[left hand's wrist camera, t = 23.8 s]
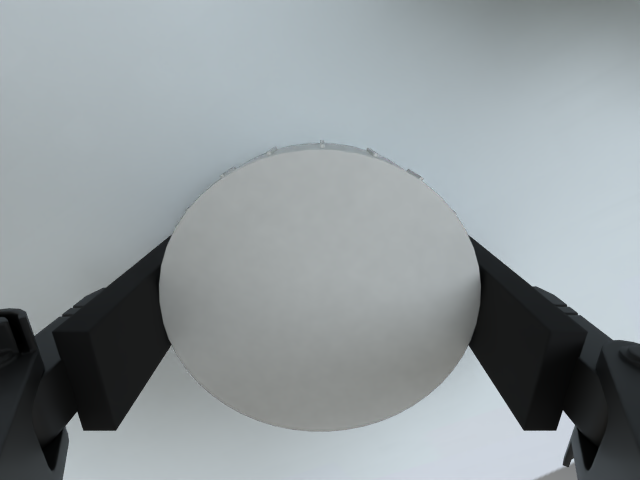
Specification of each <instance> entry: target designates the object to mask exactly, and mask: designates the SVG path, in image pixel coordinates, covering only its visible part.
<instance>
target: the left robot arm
mask: <svg viewBox="0 0 640 480" xmlns="http://www.w3.org/2000/svg"><path fill="white" fill-rule="evenodd" d="M171 236H172V235H171ZM171 236H169V237H168V238H167V239H166V240H165V241H163V242H162V243H161V244H160V245H158V246H157V247H156V248H155V249H153V250H152V251H151V252H150V253H148V254H147V255H146V256H145V257H144V258H142V259H141V260H140V261H139V262H137V263H136V264H135V265H134V266H132V267H131V268H130V269H129V270H127V271H126V272H125V273H124V274H123V275H121V276H120V277H119V278H118V279H116V280H115V281H114V282H113V283H111V284H110V285H109V286H108V287H106V288H102V289H100V290H98V291H96V292H94V293H92V294H90V295H87V296H86V297H84V298H83V299H82V300H80V301H79V302H78V303H77V304H75V305H74V306H73V308H70V309H69V310H68V311H66V312H65V313H64V314H62V317H58V318H57V319H56V320H55V321H53V322H52V323H51V324H49V325H48V326H47V327H46V328H44V329H43V330H42V331H40V332H39V333H38V334H37V335H35V336H34V334H33V331H32V328H31V325H30V322H29V320H28V317H27V314H26V312H25V311H23V310H21V309H11V308H8V309H0V480H63V474H64V468H65V462H66V456H67V450H68V444H69V438H68V433H67V430H66V427H65V426H66V425H67V423H68V422H69V421H70V420H71V418H72V417H73V416H74V415H75V414H76V412H78V415H79V418H80V421H81V424H82V428H83V431H116V430H117V428H118V427H119V425H120V424H121V422H122V420H123V419H124V417H125V416H126V414H127V413H128V411H129V410H130V408H131V407H132V405H133V403H134V402H135V400H136V399H137V397H138V396H139V394H140V393H141V391H142V389H143V388H144V386H145V385H146V383H147V382H148V380H149V379H150V377H151V376H152V374H153V372H154V371H155V369H156V368H157V366H158V365H159V363H160V362H161V360H162V359H163V357H164V355H165V354H166V352H167V351H168V349H169V348H170V346H171V343H170V341H169V339H168V336H167V333H166V330H165V327H164V324H163V319H162V313H161V308H160V302H159V280H160V272H161V265H162V261H163V258H164V254H165V251H166V247H167V245H168V242H169V240H170V238H171ZM468 236H469V235H468ZM469 239H470V241H471V243H472V245H473V248H474V251H475V255H476V258H477V262H478V266H479V273H480V282H481V298H480V307H479V313H478V318H477V323H476V327H475V329H474V332H473V335H472V338H471V341H470V343H469V347H470V348H471V350H472V351H473V353H474V354H475V356H476V357H477V359H478V360H479V362H480V364H481V365H482V367H483V368H484V370H485V371H486V373H487V374H488V376H489V377H490V379H491V381H492V382H493V384H494V385H495V387H496V388H497V390H498V391H499V393H500V395H501V396H502V398H503V399H504V401H505V402H506V404H507V405H508V407H509V408H510V410H511V412H512V413H513V415H514V416H515V418H516V419H517V421H518V422H519V424H520V425H521V427H522V429H523V430H524V431H556V430H557V427H558V423H559V420H560V417H561V414H562V411H564V412H565V413H566V414H567V416H568V417H569V418H570V419H571V420H572V422H573V423H574V424H575V427H574V430H573V433H572V436H571V438H570V441H569V444H568V447H567V450H566V453H565V456H564V460H563V465H564V466H566V467H569V465H570V462H571V459H573V458H574V461H575V466H576V472H577V478H578V480H640V344H638V343H635V342H629V341H623V340H612V339H611V338H609V337H608V336H607V335H606V334H604V333H603V332H602V331H600V330H599V329H598V328H596V327H595V326H594V325H593V324H591V323H590V322H589V321H587V320H586V319H585V318H583V317H582V316H581V315H578V313H577V312H576V311H574V310H573V309H572V308H570V307H567V304H565V303H564V302H563V301H561V300H560V299H559V298H557V297H556V296H555V295H553V294H551V293H549V292H547V291H545V290H543V289H541V288H538V287H532V286H531V285H530V284H528V283H527V282H526V281H525V280H523V279H522V278H521V277H520V276H518V275H517V274H516V273H515V272H514V271H512V270H511V269H510V268H509V267H507V266H506V265H505V264H504V263H502V262H501V261H500V260H499V259H497V258H496V257H495V256H494V255H493V254H491V253H490V252H489V251H488V250H486V249H485V248H484V247H483V246H481V245H480V244H479V243H478V242H476V241H475V240H474V239H473V238H471V237H470V236H469Z"/></svg>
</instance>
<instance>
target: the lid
mask: <svg viewBox="0 0 640 480" xmlns="http://www.w3.org/2000/svg"><path fill="white" fill-rule="evenodd" d="M220 177H221V179H220V180H218V181H217V182H216V183H215V184H213V185H212V186H211V187H210V188H208V189H207V190H206V191H205V192H204V193H202V194H201V195H200V196H199V197H198V199H197V200H196V201H195V202H194V203H193V204H192V205H191V206H190V207H188V208H187V209H186V212H185V214H184V215H183V217H182V218H181V220H180V221H179V223H178V224H177V226H176V228H175V229H174V232H173V234H172V236H171V238H170V240H169V242H168V245H167V247H166V251H165V254H164V258H163V261H162V265H161V272H160V280H159V302H160V308H161V313H162V319H163V324H164V327H165V330H166V333H167V336H168V339H169V341H170V343H171V345H172V347H173V349H174V351H175V353H176V355H177V356H178V358H179V359H180V361H181V362H182V364H183V365H184V367H185V368H186V369H187V371H188V372H189V373H190V374H191V375H192V376H193V377H194V379H195V380H196V381H197V382H198V383H199V384H200V385H201V386H202V387H203V388H205V389H206V390H207V391H208V392H209V393H210V394H211V395H213V396H214V397H215V398H217V399H218V400H220V401H221V402H222V403H224V404H225V405H227V406H229V407H230V408H232V409H234V410H236V411H238V412H239V413H241V414H243V415H246V416H248V417H250V418H253V419H255V420H258V421H261V422H264V423H267V424H270V425H274V426H278V427H283V428H288V429H293V430H302V431H338V430H347V429H352V428H358V427H363V426H366V425H370V424H373V423H376V422H380V421H382V420H385V419H387V418H390V417H392V416H394V415H397V414H399V413H401V412H402V411H404V410H406V409H408V408H410V407H412V406H413V405H415V404H416V403H418V402H419V401H420V400H422V399H423V398H425V397H426V396H428V395H429V394H430V393H431V392H432V391H433V390H434V389H436V388H437V387H438V386H439V385H440V384H441V383H442V382H443V381H444V380H445V379H446V377H447V376H448V375H449V374H450V373H451V372H452V371H453V369H454V368H455V366H456V365H457V364H458V362H459V361H460V359H461V358H462V356H463V354H464V352H465V351H466V349H467V347H468V345H469V343H470V341H471V338H472V335H473V332H474V329H475V327H476V323H477V318H478V313H479V307H480V298H481V282H480V273H479V266H478V262H477V258H476V255H475V251H474V248H473V245H472V243H471V241H470V239H469V236H468V234H467V232H466V230H465V228H464V226H463V225H462V223H461V222H460V220H459V219H458V217H457V216H456V215H457V214H456V213H455V212H454V211H453V210H452V209H451V208H450V207H449V206H448V204H447V203H446V202H445V201H444V200H443V199H442V198H441V197H440V195H438V194H437V193H436V192H435V191H434V190H432V189H431V188H430V187H429V186H428V185H426V184H425V183H424V182H423V181H422V180H423V178H422V177H421V176H419V175H418V174H416V173H414V172H413V171H411V170H409V169H408V170H407V171H406V170H405V169H403V168H401V167H400V166H398V165H396V164H395V163H393V162H392V161H390V160H388V159H386V158H384V157H381V156H379V155H378V154H377V153H376V152H374V151H373V150H371V149H369V148H367V151H366V150H363V149H359V148H356V147H352V146H347V145H339V144H332V143H324V140H320V143H308V144H300V145H293V146H288V147H284V148H281V149H277V147H274V148H272V149H271V150H269V151H268V152H267V153H265V154H263V155H261V156H258V157H256V158H254V159H252V160H250V161H248V162H247V163H245V164H243V165H242V166H240V167H238V168H237V169H236V167H233V168H231V169H230V170H228V171H226V172H225V173H223V174H222V175H220Z"/></svg>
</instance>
